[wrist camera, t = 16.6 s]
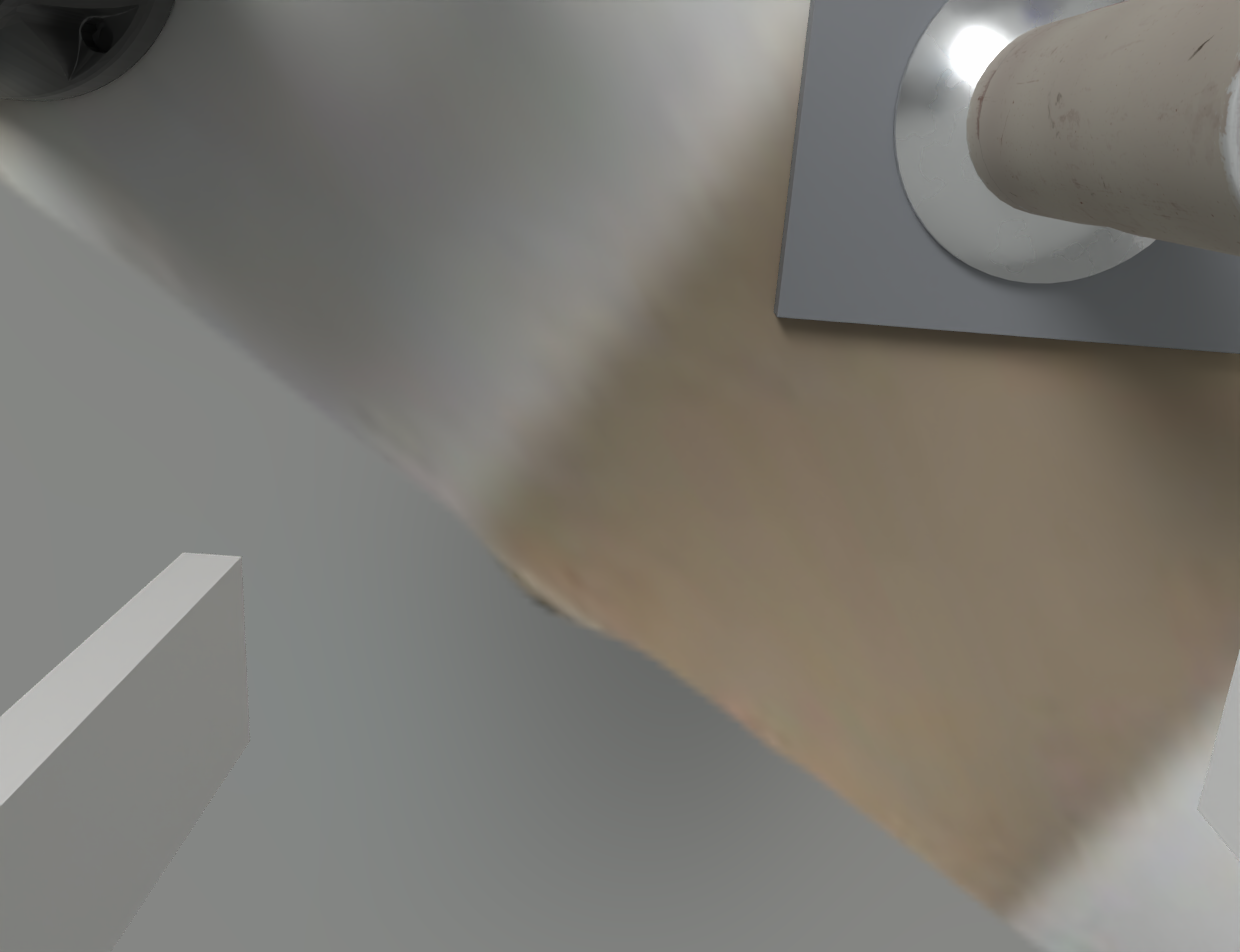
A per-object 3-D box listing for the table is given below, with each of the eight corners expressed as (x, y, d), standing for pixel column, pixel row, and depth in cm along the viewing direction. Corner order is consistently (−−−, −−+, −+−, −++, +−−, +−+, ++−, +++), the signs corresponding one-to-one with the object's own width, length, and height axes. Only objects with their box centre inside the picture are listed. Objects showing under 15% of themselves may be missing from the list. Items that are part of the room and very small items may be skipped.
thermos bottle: (1022, -12, 45) (1567, -231, 18) (1189, 67, 45) (1952, -32, 19) (932, 172, 47) (1298, 218, 20) (1093, 244, 48) (1649, 380, 21)
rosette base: (773, 312, 51) (782, 323, 48) (826, -136, 45) (840, -158, 42) (1235, 348, 51) (1276, 363, 48) (1347, -96, 45) (1402, -114, 42)
